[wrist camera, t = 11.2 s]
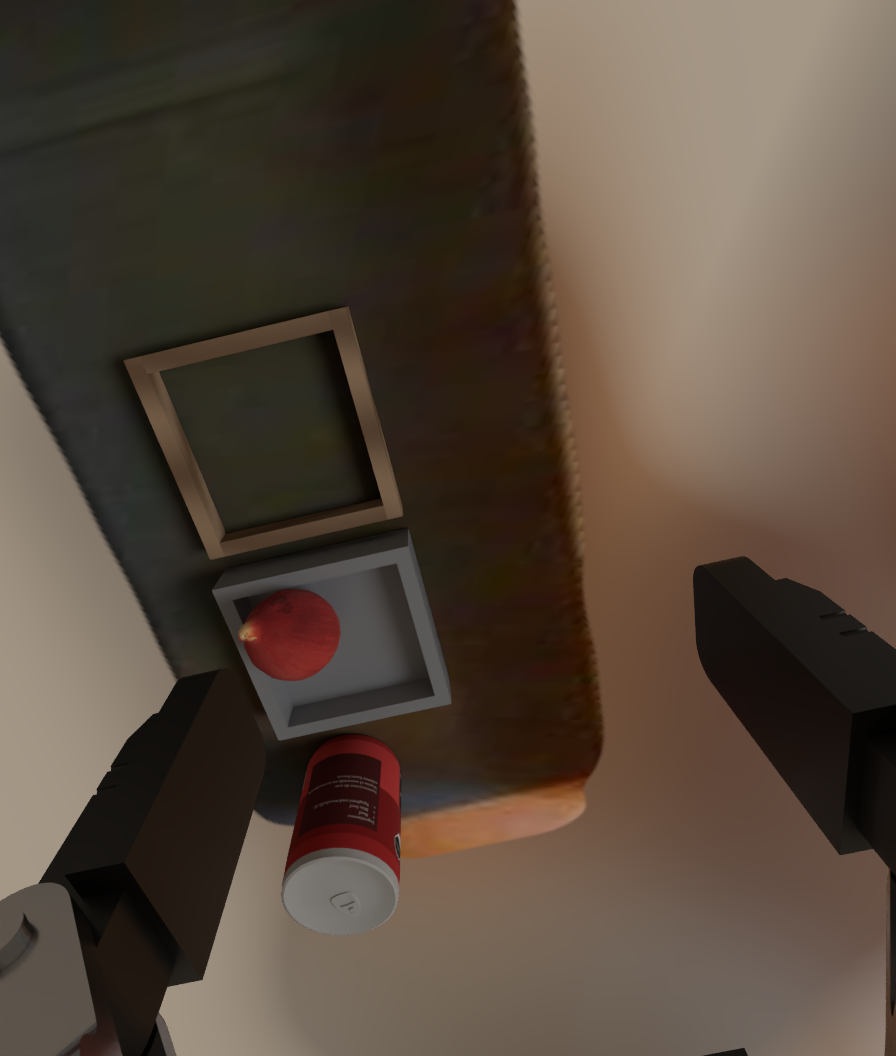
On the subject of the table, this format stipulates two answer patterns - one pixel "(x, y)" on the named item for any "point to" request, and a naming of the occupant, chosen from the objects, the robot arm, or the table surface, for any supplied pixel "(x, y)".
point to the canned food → (346, 839)
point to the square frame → (186, 467)
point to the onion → (291, 634)
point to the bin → (348, 634)
